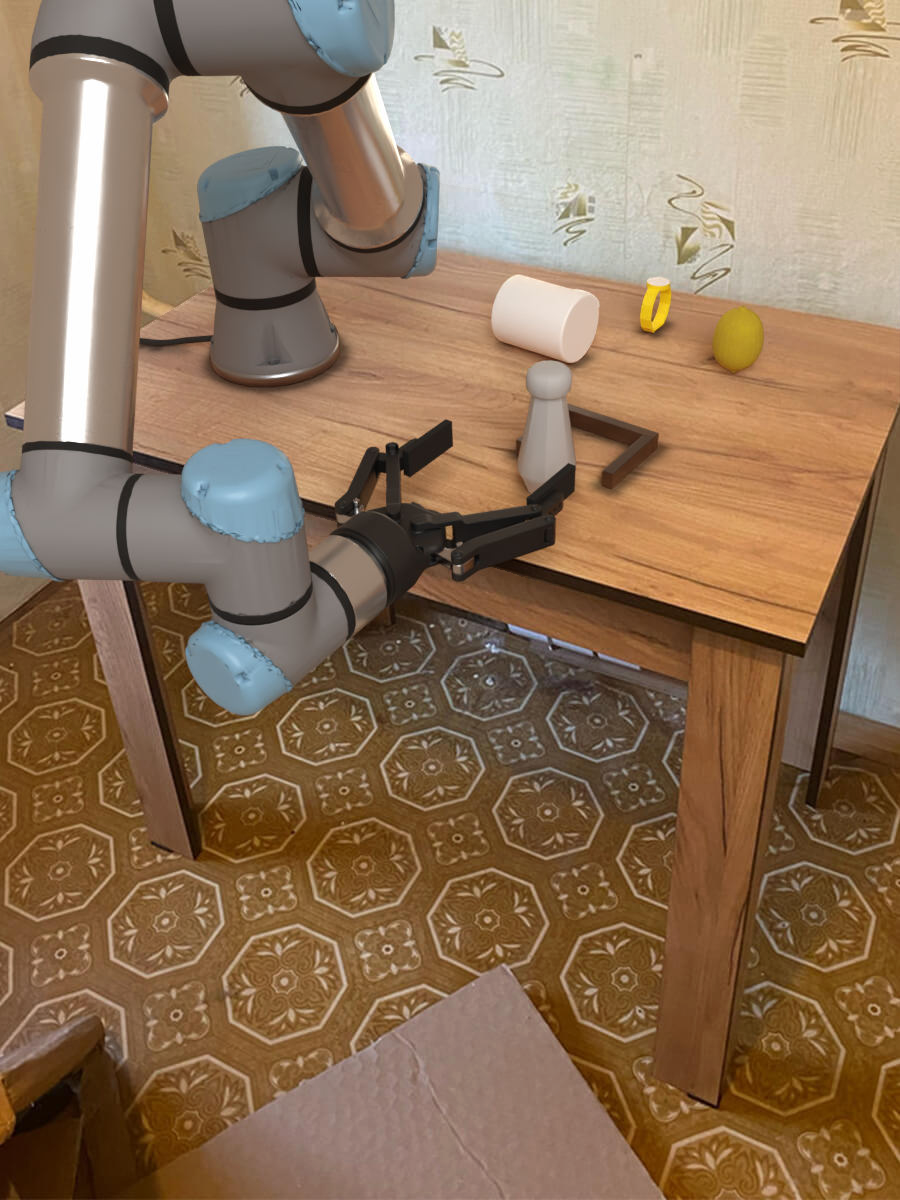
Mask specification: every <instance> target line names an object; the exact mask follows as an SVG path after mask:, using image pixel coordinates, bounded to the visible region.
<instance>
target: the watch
mask: <svg viewBox="0 0 900 1200" xmlns="http://www.w3.org/2000/svg"><path fill="white" fill-rule="evenodd" d="M645 285H646V288H647V290H646V291H645V294H644V297H643V299H642V303H641V306H640V313H639V323H640V327H641V329H642V330H643V332H644V331H645V332H648V333H652V334H653V333H655V332H656V331H657V330H658V329H660V328H661V327H662V326H664V325H665V323H666V320H667V318H668V315H669V312H670V308H671V303H672V296H673V295H672V287H671V281H670V279H669V278H666V277H662V276H653V277H649V278H647V280H646V284H645ZM658 295H659V303H658V306H657V309H656V313H655V315H654V318H653V320H652V317H653V309H654V305H655V303H656V299H657V297H658Z"/></svg>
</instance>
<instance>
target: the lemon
mask: <svg viewBox="0 0 900 1200" xmlns="http://www.w3.org/2000/svg"><path fill="white" fill-rule="evenodd" d="M764 341H765V331H764V325H763V322H762V319H761V318H760V316H759V315H758V314H757V313H756V312H755V311H753V310H752V309H750V308H747V307H746V306H745V305H740V306H739V307H733V308H731V309H729V310H728V311H726V312H724V314H722V315H721V317H720V318H719V319H718V321H717V323H716V325H715V329H714V330H713V335H712V341H711V346H712V347H711V348H712V353H713V357H714V358H715V360H716V362H717V363H718V364H719V365H720V366H721V367H723V368H724V369H726V370H728V371H729V372H730V373H731V374H737V373H738V372H739V371H743V370H745V369H748V368H750V367H751V366H753V365H754V363H756V361H758V358H759V357H760V355H761V353H762V350H763V347H764Z"/></svg>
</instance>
